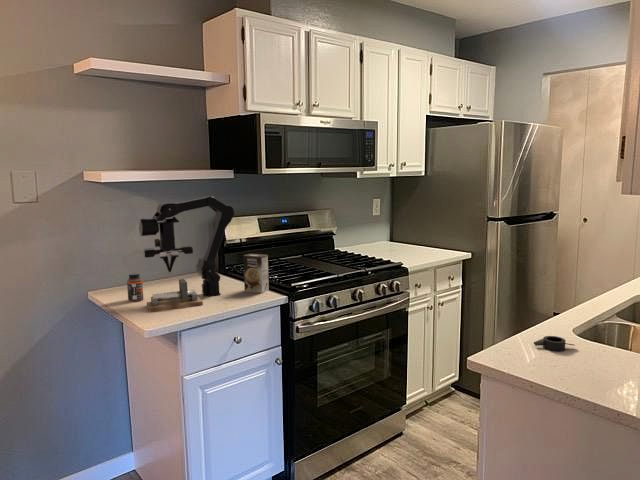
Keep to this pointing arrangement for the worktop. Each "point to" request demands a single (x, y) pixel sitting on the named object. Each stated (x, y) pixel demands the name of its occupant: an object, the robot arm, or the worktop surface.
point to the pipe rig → (171, 296)
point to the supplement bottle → (135, 287)
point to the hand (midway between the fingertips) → (169, 272)
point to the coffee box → (256, 273)
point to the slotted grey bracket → (183, 290)
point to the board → (173, 304)
